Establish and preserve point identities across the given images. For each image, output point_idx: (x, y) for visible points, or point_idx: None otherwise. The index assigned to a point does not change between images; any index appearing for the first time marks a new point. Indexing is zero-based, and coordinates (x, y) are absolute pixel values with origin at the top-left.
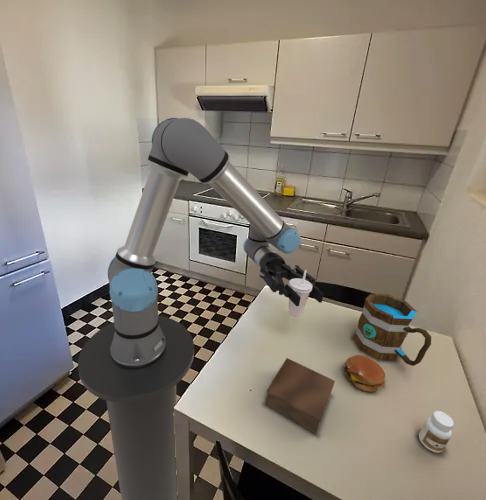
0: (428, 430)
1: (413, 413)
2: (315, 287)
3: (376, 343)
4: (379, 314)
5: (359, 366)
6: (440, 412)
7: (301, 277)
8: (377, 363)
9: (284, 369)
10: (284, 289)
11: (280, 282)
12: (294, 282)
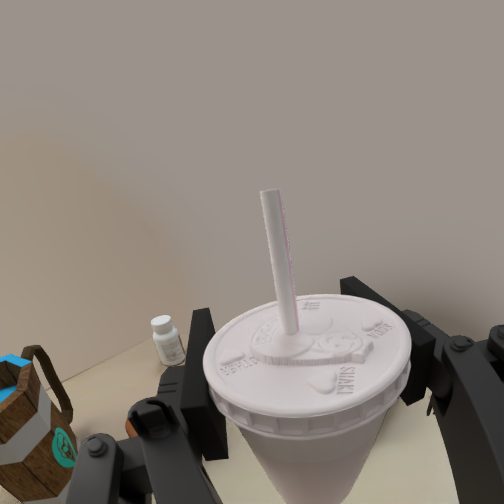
0: (178, 337)
1: (153, 383)
2: (193, 348)
3: (76, 445)
4: (31, 386)
5: None
6: (155, 323)
7: (207, 501)
8: (127, 419)
9: None
10: (431, 328)
11: (478, 361)
12: (362, 343)
